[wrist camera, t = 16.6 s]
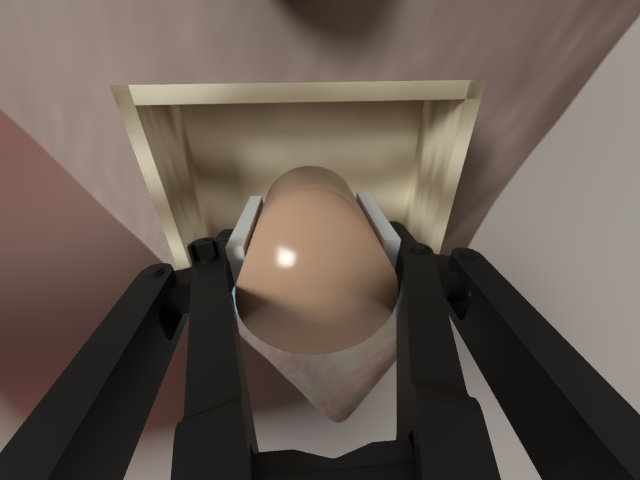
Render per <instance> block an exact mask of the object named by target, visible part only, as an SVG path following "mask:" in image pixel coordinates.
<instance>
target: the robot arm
mask: <svg viewBox="0 0 640 480" xmlns="http://www.w3.org/2000/svg"><path fill="white" fill-rule="evenodd" d="M356 200H357V202H358V203H359V205H360V207H361V209H362V211H363V213H364V215H365V216H366V218H367V220H368V222H369V224H370V226H371V227H372V229H373V231H374V233H375V235H376V237H377V238H378V240H379V242H380V244H381V246H382V248H383V250H384V251H385V253H386V255H387V257H388V259H389V261H390V262H391V264H392V266H393V268H394V271H395V273H396V276H397V280H398V298H397V302H396V324H397V435H396V440H393V441H382V442H372V443H370V444H367V445H365V446H363V447H361V448H358V449H356V450H354V451H352V452H349V453H347V454H345V455H343V456H340V457H338V458H333V459H332V458H327V457H323V456H319V455H314V454H310V453H306V452H302V451H298V450H280V451H270V452H259V450H258V445H257V440H256V433H255V427H254V422H253V415H252V409H251V403H250V397H249V390H248V384H247V378H246V372H245V366H244V360H243V353H242V348H241V341H240V335H239V329H238V323H237V316H236V310H235V304H234V298H233V294H232V291H233V288H234V287H235V288H236V284H237V280H238V277H239V274H240V271H241V268H242V265H243V262H244V260H245V257H246V254H247V251H248V248H249V245H250V242H251V239H252V236H253V233H254V230H255V227H256V225H257V222H258V219H259V216H260V213H261V210H262V207H263V198H262V196H250V198H249V200H248V202H247V205H246V207H245V209H244V211H243V213H242V215H241V217H240V219H239V221H238V223H237V225H236V227H235V229H224V230H223V231H222V232H220V233H219V234H218V235H217V237H216V238H214V237H205V238H200V239H197V240H195V241H193V242H191V243H190V244H189V245H188V246H187V249H188V252H189V255H190V259H191V262H192V266H191V267H188V268H185V269H180V270H176V271H174V269H173V267H172V265H170V264H167V263H161V264H155V265H153V266H152V265H151V266H149V267H147V268H146V269H144V270H143V271H141V272H140V273H139V274H138V275H137V277H136V278H135V279H134V281H133V282H132V283H131V285H130V286H129V287H128V289H127V290H126V291H125V292H124V294H123V295H122V296H121V297H120V299H119V300H118V301H117V303H116V304H115V306H114V307H113V308H112V309H111V310H110V312H109V313H108V314H107V316H106V317H105V318H104V319H103V321H102V322H101V324H100V325H99V326H98V327H97V328H96V330H95V331H94V332H93V334H92V335H91V336H90V338H89V339H88V340H87V342H86V343H85V344H84V345H83V347H82V348H81V349H80V351H79V352H78V353H77V354H76V356H75V357H74V358H73V359H72V361H71V362H70V363H69V365H68V366H67V367H66V369H65V370H64V371H63V372H62V374H61V375H60V376H59V378H58V379H57V380H56V381H55V383H54V384H53V385H52V387H51V388H50V389H49V391H48V392H47V393H46V394H45V396H44V397H43V399H42V400H41V401H40V402H39V404H38V405H37V406H36V407H35V409H34V410H33V411H32V413H31V414H30V415H29V416H28V418H27V419H26V420H25V422H24V423H23V424H22V426H21V427H20V428H19V429H18V431H17V432H16V433H15V434H14V436H13V437H12V439H11V440H10V441H9V442H8V444H7V445H6V446H5V447H4V449H3V450H2V451H1V453H0V480H123V478H124V476H125V473H126V470H127V468H128V466H129V463H130V461H131V458H132V456H133V453H134V451H135V448H136V446H137V443H138V441H139V438H140V436H141V433H142V431H143V428H144V426H145V423H146V421H147V418H148V416H149V413H150V411H151V408H152V406H153V403H154V401H155V398H156V395H157V393H158V390H159V388H160V386H161V383H162V381H163V378H164V376H165V373H166V371H167V368H168V366H169V363H170V361H171V358H172V356H173V353H174V351H175V348H176V345H177V343H178V341H179V338H180V336H181V333H182V331H183V328H184V326H185V323H186V320H187V318H188V316H189V330H188V331H189V332H188V349H187V367H186V368H187V369H186V387H185V404H184V417H183V419H182V421H180V422H179V423H178V424H177V426H176V429H175V435H174V444H173V457H172V470H171V480H501V478H500V475H499V471H498V467H497V463H496V460H495V456H494V453H493V449H492V445H491V441H490V438H489V434H488V430H487V427H486V424H485V419H484V416H483V412H482V410H481V407H480V404H479V402H478V401H477V400H476V398H473V397H470V396H469V395H468V393H467V390H466V386H465V382H464V377H463V373H462V369H461V365H460V361H459V357H458V352H457V348H456V344H455V340H454V336H453V332H452V327H451V323H450V319H449V316H450V318H451V320H452V321H453V323H454V325H455V326H456V328H457V330H458V332H459V334H460V335H461V337H462V339H463V341H464V343H465V344H466V346H467V348H468V350H469V351H470V353H471V355H472V357H473V358H474V360H475V362H476V363H477V365H478V367H479V369H480V371H481V373H482V374H483V376H484V378H485V380H486V381H487V383H488V385H489V386H490V388H491V390H492V392H493V394H494V395H495V397H496V399H497V401H498V403H499V404H500V406H501V408H502V410H503V411H504V413H505V415H506V417H507V419H508V420H509V422H510V424H511V426H512V427H513V429H514V431H515V432H516V434H517V436H518V438H519V439H520V441H521V443H522V445H523V446H524V448H525V450H526V452H527V454H528V455H529V457H530V459H531V461H532V463H533V464H534V466H535V468H536V470H537V472H538V473H539V475H540V477H541V479H542V480H640V415H639V414H638V413H637V412H636V410H634V408H632V406H631V405H630V404H629V403H628V402H627V401H626V400H625V399H624V398H623V397H622V396H621V395H620V394H619V393H617V391H616V390H615V389H614V388H613V387H612V386H611V385H610V384H609V383H608V382H607V381H606V380H605V379H604V378H603V377H602V376H601V375H600V374H599V373H598V372H597V371H596V370H595V369H594V368H593V367H592V366H591V365H590V364H589V363H588V362H587V361H586V360H585V359H584V358H583V357H582V356H581V355H580V354H579V353H578V352H577V351H576V350H575V349H574V348H573V347H572V346H571V345H570V344H569V343H568V342H567V341H566V340H565V339H564V338H563V337H562V336H561V335H560V333H558V331H557V330H556V329H555V328H554V327H553V326H552V325H551V324H550V323H549V322H548V321H546V319H545V318H544V317H543V316H542V315H541V314H540V313H539V312H538V311H537V310H536V309H535V308H534V307H533V306H532V305H531V304H530V303H529V302H528V301H527V300H526V299H525V298H524V297H523V296H522V295H521V294H520V293H519V292H518V291H517V290H516V289H515V288H514V287H513V286H512V285H511V284H510V283H509V282H508V281H507V280H506V279H505V278H504V277H503V276H502V275H501V274H500V273H499V272H498V271H497V270H496V269H495V268H494V267H493V266H492V265H491V264H490V263H489V262H488V261H487V260H486V259H485V257H484V256H483V255H481V254H480V253H478V252H476V251H474V250H473V249H469V248H455V249H453V250H452V252H451V256H446V255H439V254H434V252H433V250H432V248H431V247H429V246H428V245H425V244H423V243H418V242H417V241H416V240H415V239H414V238H413V236H412V235H411V234H410V233H409V231H408V230H407V229H406V228H405V226H404V225H403V224H401V223H399V222H397V221H388V220H387V219H386V217H385V216H384V214H383V213H382V212H381V210H380V209H379V207H378V206H377V204H376V203H375V202H374V200H373V199H372V197H371V196H370V194H369V193H368V192H357V194H356ZM448 314H449V315H448Z"/></svg>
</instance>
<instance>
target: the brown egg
mask: <svg viewBox="0 0 640 480" xmlns="http://www.w3.org/2000/svg"><path fill="white" fill-rule="evenodd" d="M397 298H398V280H397V276H396V273H395V271H394V268H393V266H392V264H391V262H390V261H389V259H388V257H387V255H386V253H385V251H384V250H383V248H382V246H381V244H380V242H379V240H378V238H377V237H376V235H375V233H374V231H373V229H372V227H371V226H370V224H369V222H368V220H367V218H366V216H365V215H364V213H363V211H362V209H361V207H360V205H359V203H358V202H357V200H356V198H355V196H354V194H353V192H352V191H351V189H350V187H349V186H348V184H347V183H346V182H345V180H344V179H343V178H341V177H340V176H339V175H338V174H336V173H335V172H333V171H331V170H329V169H326V168H323V167H318V166H302V167H297V168H294V169H292V170H289V171H287V172H286V173H284V174H282V175H281V176H280V177H279V178H278V179H277V180H276V181H275V182H274V183H273V184H272V186H271V187H270V189H269V191H268V193H267V195H266V198H265V201H264V204H263V207H262V210H261V213H260V216H259V219H258V222H257V225H256V227H255V230H254V233H253V236H252V239H251V242H250V245H249V248H248V251H247V254H246V257H245V260H244V262H243V265H242V268H241V271H240V274H239V277H238V280H237V284H236V288H235V303H236V308H237V311H238V314H239V316H240V318H241V320H242V322H243V323H244V325H245V326H246V327H247V329H248V330H249V331H250V332H251V333H252V334H253V335H255V336H256V337H257V338H259V339H260V340H262V341H263V342H265V343H267V344H268V345H271V346H273V347H275V348H278V349H281V350H284V351H288V352H292V353H299V354H325V353H332V352H337V351H340V350H344V349H347V348H350V347H352V346H355V345H357V344H359V343H361V342H363V341H364V340H366V339H368V338H369V337H371V336H372V335H373V334H374V333H376V332H377V331H378V330H379V329H380V328H381V327H382V326H383V325H384V324H385V323H386V321H387V320H388V319H389V317H390V315H391V314H392V312H393V310H394V308H395V305H396V302H397Z"/></svg>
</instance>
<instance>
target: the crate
mask: <svg viewBox="0 0 640 480" xmlns="http://www.w3.org/2000/svg"><path fill="white" fill-rule="evenodd" d="M485 83H486V80H448V81H379V82H310V83H241V84H172V85H110V88H111V90H112V93H113V96H114V98H115V101H116V104H117V106H118V109H119V112H120V114H121V117H122V120H123V123H124V125H125V128H126V131H127V133H128V136H129V139H130V141H131V144H132V147H133V149H134V152H135V155H136V157H137V160H138V163H139V165H140V168H141V171H142V173H143V176H144V179H145V182H146V184H147V187H148V190H149V192H150V195H151V198H152V200H153V203H154V206H155V208H156V211H157V214H158V216H159V219H160V222H161V224H162V227H163V230H164V232H165V235H166V238H167V241H168V243H169V246H170V249H171V251H172V254H173V257H174V259H175V262H176V265H177V267H178V270H180V269H185V268H188V267H191V266H192V262H191V259H190V255H189V252H188V249H187V246H188V245H189V244H190V243H191V242H193V241H195V240H197V239H200V238H205V237H214V238H216V237H217V235H218V234H219V233H220V232H222V231H223V230H224V229H235V227H236V225H237V223H238V221H239V219H240V217H241V215H242V213H243V211H244V209H245V207H246V205H247V202H248V200H249V198H250V196H262V198H263V204H264V201H265V198H266V195H267V193H268V191H269V189H270V187H271V186H272V184H273V183H274V182H275V181H276V180H277V179H278V178H279V177H280V176H281V175H282V174H284V173H286V172H287V171H289V170H292V169H294V168H297V167H302V166H318V167H323V168H326V169H329V170H331V171H333V172H335V173H336V174H338V175H339V176H340V177H341V178H343V179H344V180H345V182H346V183H347V184H348V186H349V187H350V189H351V191H352V192H353V194H354V196H355V198H356V194H357V192H368V193H369V194H370V196H371V197H372V199H373V200H374V202H375V203H376V204H377V206H378V207H379V209H380V210H381V212H382V213H383V214H384V216H385V217H386V219H387V220H388V221H397V222H399V223H401V224H403V225H404V226H405V228H406V229H407V230H408V231H409V233H410V234H411V235H412V236H413V238H414V239H415V240H416V241H417V242H418V243H423V244H425V245H428V246H429V247H431V248H432V250H433V252H434V254H439V253H440V249H441V246H442V242H443V238H444V235H445V231H446V227H447V223H448V220H449V216H450V212H451V209H452V205H453V201H454V198H455V194H456V190H457V186H458V183H459V179H460V175H461V172H462V168H463V164H464V160H465V157H466V153H467V149H468V146H469V142H470V138H471V135H472V131H473V127H474V123H475V120H476V116H477V112H478V109H479V105H480V101H481V98H482V94H483V90H484V86H485Z"/></svg>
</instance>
